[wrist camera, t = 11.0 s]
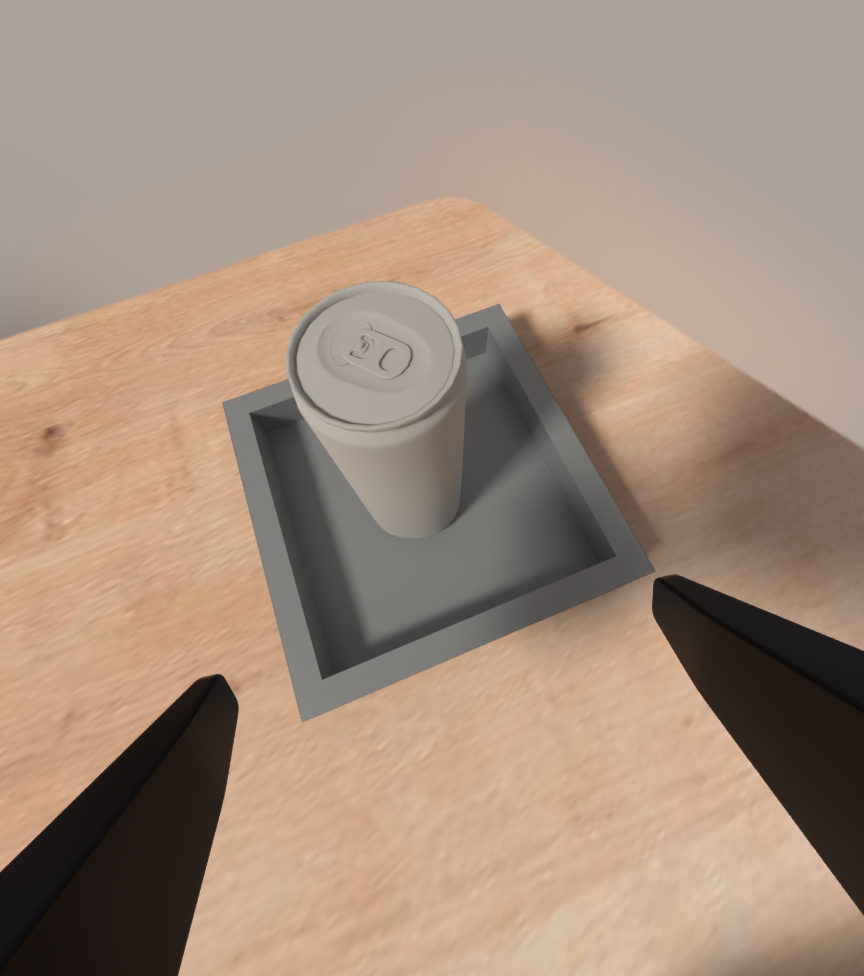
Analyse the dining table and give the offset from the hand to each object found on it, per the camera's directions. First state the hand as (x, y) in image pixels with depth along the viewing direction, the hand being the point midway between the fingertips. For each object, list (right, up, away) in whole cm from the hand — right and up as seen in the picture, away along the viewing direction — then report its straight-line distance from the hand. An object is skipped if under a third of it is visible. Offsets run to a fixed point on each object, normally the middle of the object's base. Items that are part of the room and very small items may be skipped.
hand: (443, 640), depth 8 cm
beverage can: (-1, +2, +13) cm, 14 cm away
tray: (-1, +3, +14) cm, 14 cm away
